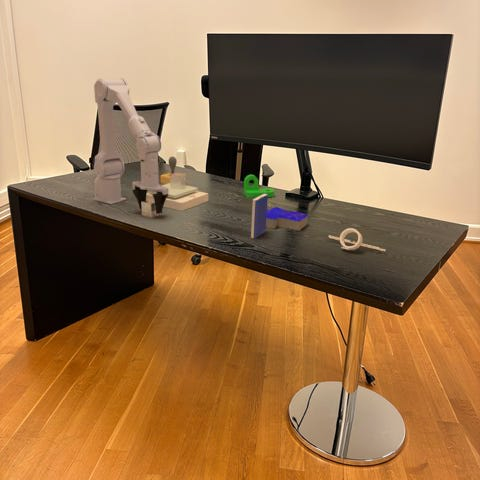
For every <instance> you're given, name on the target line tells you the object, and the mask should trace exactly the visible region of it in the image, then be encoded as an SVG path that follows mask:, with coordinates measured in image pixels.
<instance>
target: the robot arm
mask: <svg viewBox="0 0 480 480" xmlns="http://www.w3.org/2000/svg"><path fill="white" fill-rule="evenodd" d="M93 90H94V100H95V103H96V106H97V113H98V114H97V115H98V116H97V117H98V127H99V128H98V129H99V141H100V142H99V143H100V151H99V152H98V153H97V154H96V155H95V156H94V165H93V170H94V174H95V175H96V177H95V179H94V181H93V186H94V188H93V189H94V195H95V196H94V198H93V201H97V202H102V203H106V204H108V205H114V204H117V203H120V202H123V201H126V200H127V198H126V197H122V189H121V178H122V176H123V174H124V172H125V167H126V166H125V162H124V160H123V155H122V154H121V153H119V152H118V151H117V144H116V142H117V141H116V131H115V129H116V128H115V117H114V116H115V114H114V106H115V105H116V104H117V105H118V106H119V108H120V110H122V112H123V114H124V115H125V117H126V118H127V120H128V123H127V127H128V128H129V130H130V132H131V134H132V135H133V137H134V139H135V141H136V143H135V148H136V151H137V154H138V158H139V160H140V181H138V180H137V181H132V188H133V189H132V193H133V195H134V196H135V199H136V201H137V204H138V206H139V210H141V211H142V206H141V202H142V201H145V200H146V195H147V193H148V190H149V191H153V192H157V193H156V194H153V198H154V201H155V206H156V214H159V213H160V214H162V213H163V209H164V207H163V205H164V202H165V200H166V198H167V196H168V194H169V192H168V188H166V187H164V186H162V184H160V183H159V181H160V180H159V153H160V152H161V150H162V140H161V139H160V136H159V135H157V134H155V132H152V130H151V129H150V127H149V125H148V123H147V121H146V120H145V117H143V116H141V115H139V114H138V112H137V110H136V107H135V105H134V104H133V101H132V99H131V97H130V87H129V85H128V82H127V81H126V80H125V79H124V78H97V80H96V81H95V83H94V85H93Z"/></svg>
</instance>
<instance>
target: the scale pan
mask: <svg viewBox="0 0 480 480" xmlns="http://www.w3.org/2000/svg"><path fill="white" fill-rule="evenodd" d="M161 186H164V187H166V188H168V192H169V194H168V196H167V197H171V198H177V197H180V196H183V195H186V194H189V193H192V192H195V191H199V187H196V186H191V185H187V184H186V187H185V188H183V189H174V188H171V186H170V183H168V184H161ZM147 193H154V194H156V193H157V192H153V191H149V190H148V191H147Z"/></svg>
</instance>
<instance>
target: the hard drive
mask: <svg viewBox="0 0 480 480" xmlns="http://www.w3.org/2000/svg"><path fill="white" fill-rule="evenodd" d="M268 199H269V197H268V194H263V195H261V196H259V197H257V198H252V209H251V233H250V238H251V239H257V238H258V237H260V236H261V235H263V234H265V233H266V232H267V229H266V228H267V227H266V216H267V210H268Z"/></svg>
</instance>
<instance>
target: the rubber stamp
mask: <svg viewBox="0 0 480 480" xmlns="http://www.w3.org/2000/svg"><path fill="white" fill-rule="evenodd" d="M168 165H169V168H170V172H171V173H170V172H169V173H164V174H161V175H160V184H161V185H165V184H168V183H170V175H172V174H174V173H175V169H176V167H177V158H176V157H175V156H169V158H168Z"/></svg>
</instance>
